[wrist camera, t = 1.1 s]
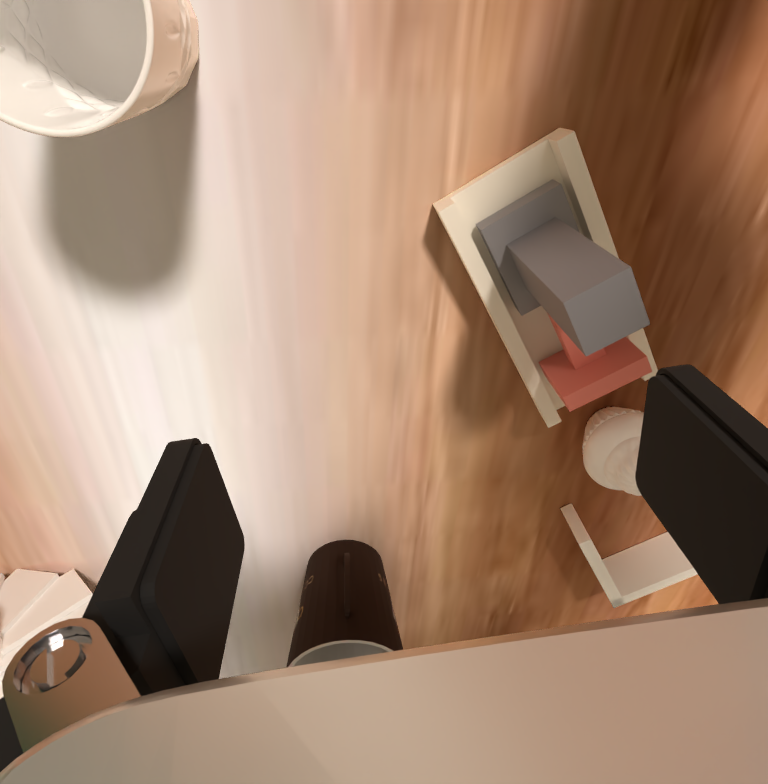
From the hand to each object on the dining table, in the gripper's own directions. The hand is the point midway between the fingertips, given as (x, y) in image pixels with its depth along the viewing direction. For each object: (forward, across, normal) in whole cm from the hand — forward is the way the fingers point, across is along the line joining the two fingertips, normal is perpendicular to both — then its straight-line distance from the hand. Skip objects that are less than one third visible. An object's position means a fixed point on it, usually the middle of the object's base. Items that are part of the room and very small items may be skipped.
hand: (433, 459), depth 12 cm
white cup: (+24, +11, -10) cm, 28 cm away
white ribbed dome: (+24, -15, +18) cm, 33 cm away
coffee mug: (+23, +6, +28) cm, 37 cm away
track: (+23, -10, +6) cm, 26 cm away
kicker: (+22, -10, +6) cm, 25 cm away
